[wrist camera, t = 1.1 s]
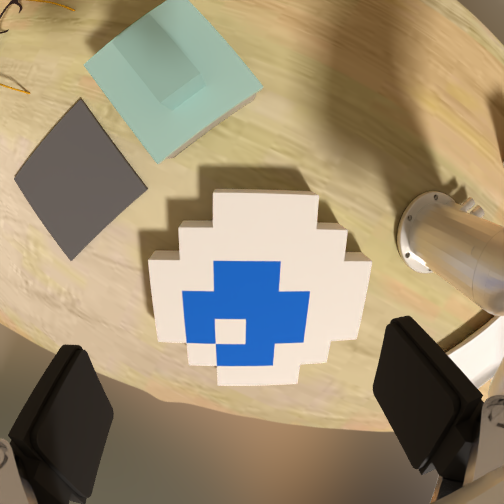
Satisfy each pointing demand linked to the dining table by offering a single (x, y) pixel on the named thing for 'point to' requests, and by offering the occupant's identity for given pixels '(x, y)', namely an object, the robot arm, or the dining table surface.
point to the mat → (78, 180)
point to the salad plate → (481, 352)
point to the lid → (171, 76)
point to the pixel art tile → (259, 287)
